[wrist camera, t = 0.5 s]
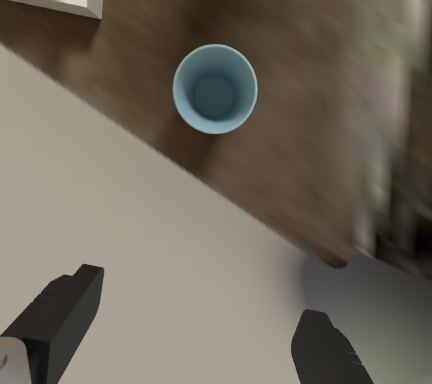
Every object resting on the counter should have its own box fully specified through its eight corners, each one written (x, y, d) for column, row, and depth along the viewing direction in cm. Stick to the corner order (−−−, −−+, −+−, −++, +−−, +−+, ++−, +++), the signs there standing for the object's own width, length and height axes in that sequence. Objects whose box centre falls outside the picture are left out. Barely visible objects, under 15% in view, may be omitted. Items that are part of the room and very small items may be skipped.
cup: (176, 117, 36) (163, 120, 26) (192, 55, 34) (185, 31, 24) (232, 135, 37) (241, 144, 27) (251, 74, 35) (268, 60, 25)
